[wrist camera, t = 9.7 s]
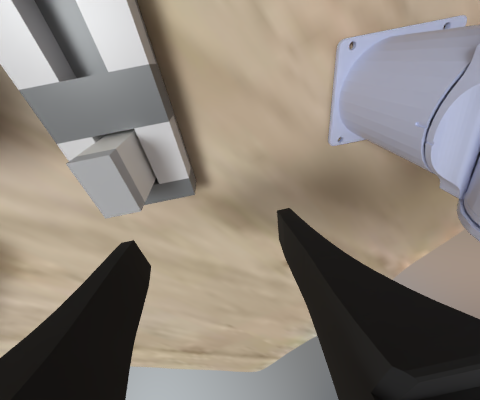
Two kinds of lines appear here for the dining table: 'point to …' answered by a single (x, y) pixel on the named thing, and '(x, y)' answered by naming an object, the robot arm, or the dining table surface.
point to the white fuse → (115, 173)
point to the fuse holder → (95, 81)
